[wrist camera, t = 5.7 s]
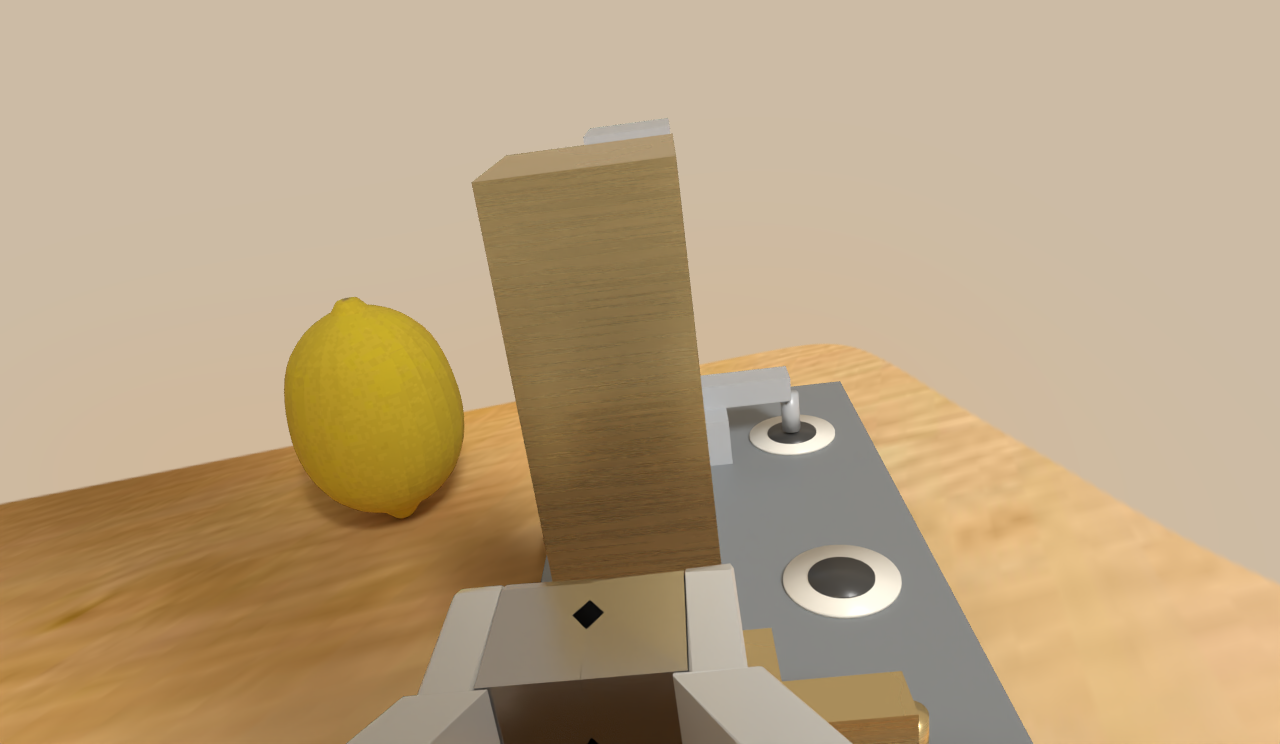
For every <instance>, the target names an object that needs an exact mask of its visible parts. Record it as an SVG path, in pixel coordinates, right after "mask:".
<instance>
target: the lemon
mask: <svg viewBox="0 0 1280 744" xmlns="http://www.w3.org/2000/svg"><path fill="white" fill-rule="evenodd" d="M284 394H285V395H284V396H285V409H286V417H287V423H288V427H289V432H290V436H291V440H292V443H293V446H294V449H295V452H296V454H297V456H298V458H299V460H300V462H301V464H302V466H303V468H304V469H305V471H306V472H307V474H308V475H309V477H310V478H311V479H312V481H313V482H314V483H315V484H316V485H317V486H318V487H319V488H320V489H321V490H322V491H323V492H325V493H326V494H327V495H328V496H329V497H331V498H332V499H333V500H335V501H337V502H338V503H340V504H342V505H345V506H347V507H350V508H353V509H356V510H359V511H364V512H372V513H387V514H389V515H392V516H394V517H396V518H406V517H409V516H410V515H412V514H413V513H414V511H415V510H416V508H417V507H418V505H419V504H420V502H421V501H423V500H425V499H427V498H428V497H429V496H431V495H432V494H433V493H434V492H436V491H437V490H438V489H439V488H440V487H441V486H442V485H443V483H444V482H445V481H446V480H447V478H448V477H449V475H450V474H451V473H452V471H453V469H454V467H455V465H456V463H457V460H458V457H459V454H460V451H461V447H462V442H463V437H464V413H463V405H462V400H461V395H460V392H459V388H458V385H457V383H456V380H455V377H454V375H453V372H452V369H451V367H450V365H449V363H448V360H447V359H446V357H445V355H444V353H443V351H442V349H441V348H440V346H439V344H438V343H437V341H436V340H435V339H434V337H433V336H432V335H431V333H430V332H428V331H427V330H426V329H425V328H424V327H423V326H422V325H420V324H419V323H418V322H416V321H415V320H413V319H412V318H410V317H409V316H407V315H405V314H403V313H401V312H399V311H396V310H393V309H391V308H386V307H382V306H376V305H367V304H366V303H364V302H363V301H361V300H360V299H359V298H357V297H350V298H345V299H341V300H339V301H337V302H336V303H335V305H334V307H333V309H332V311H331V313H329V314H327V315H326V316H324V317H323V318H321V319H320V320H319V321H317V322H316V323H315V324H313V325H312V326H311V327H310V328H309V329H308V330H307V331H306V332H305V333H304V335H303V336H302V337H301V339H300V340H299V341H298V343H297V345H296V346H295V348H294V350H293V352H292V354H291V356H290V358H289V361H288V365H287V368H286V374H285V385H284Z"/></svg>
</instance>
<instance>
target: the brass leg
mask: <svg viewBox="0 0 1280 744" xmlns="http://www.w3.org/2000/svg"><path fill="white" fill-rule="evenodd" d="M472 187H473V192H474V197H475V202H476V207H477V211H478V217H479V221H480V226H481V231H482V236H483V241H484V246H485V251H486V255H487V261H488V265H489V271H490V276H491V281H492V286H493V290H494V296H495V300H496V305H497V310H498V315H499V320H500V325H501V330H502V335H503V340H504V344H505V350H506V354H507V360H508V365H509V370H510V375H511V379H512V384H513V389H514V394H515V399H516V404H517V409H518V414H519V419H520V424H521V429H522V434H523V439H524V444H525V449H526V454H527V458H528V463H529V468H530V473H531V478H532V483H533V488H534V493H535V498H536V503H537V508H538V513H539V518H540V523H541V528H542V533H543V537H544V542H545V547H546V552H547V557H548V562H549V567H550V572H551V577H552V582H555V581H569V580H583V579H596V580H598V579H607V578H616V577H626V576H635V575H645V574H654V573H663V572H673V571H682V570H684V571H686V569H690V568H697V567H705V566H713V565H721V556H720V547H719V538H718V529H717V520H716V511H715V502H714V493H713V484H712V475H711V466H710V457H709V448H708V439H707V430H706V421H705V412H704V403H703V394H702V385H701V376H700V367H699V358H698V350H697V340H696V332H695V322H694V313H693V304H692V295H691V286H690V277H689V269H688V260H687V250H686V242H685V233H684V223H683V215H682V205H681V197H680V188H679V179H678V170H677V162H676V153H675V147H674V141H673V134H665V135H657V136H650V137H642V138H635V139H627V140H619V141H612V142H604V143H597V144H589V145H582V146H574V147H567V148H559V149H551V150H544V151H536V152H529V153H521V154H514V155H506V156H505V157H504V158H503V159H501V160H500V161H499V162H497V163H496V164H495V165H494V166H492V167H491V168H490V169H488V170H487V171H486V172H484V173H483V174H482V175H481V176H479V177H478V178H477V179H475V180H474V181H473V182H472ZM743 637H744V644H745V651H746V658H747V666H748V667H757V666H762V667H764V668H765V669H766V670H767V671H768V672H770V673H771V674H772V675H773V676H774V677H775V678H777V679H778V680H779V681H780V682H781V683H782V684H784V685H785V686H786V687H787V688H788V689H789V690H791V691H792V692H793V693H794V694H795V695H796V696H798V697H799V698H800V699H801V700H802V701H803V702H805V703H806V704H807V705H808V706H809V707H810V708H812V709H813V710H814V711H815V712H816V713H817V714H819V715H820V716H821V717H822V718H823V719H824V720H826V721H827V722H828V723H829V724H830V725H831V726H833V727H834V728H835V729H836V730H837V731H838V732H840V733H841V734H842V735H843V736H844V737H845V738H847V739H848V740H849V741H850V742H851V743H852V744H929V712H928V710H927V708H926V707H925V706H924V705H923V704H921V703H920V702H917V701H914V700H913V698H912V696H911V693H910V690H909V688H908V685H907V683H906V680H905V678H904V675H903V672H902V671H895V672H884V673H873V674H861V675H850V676H839V677H827V678H816V679H805V680H793V681H782V680H781V675H780V670H779V664H778V659H777V654H776V649H775V644H774V639H773V633H772V628H763V629H752V630H743Z"/></svg>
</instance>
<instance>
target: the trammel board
mask: <svg viewBox="0 0 1280 744" xmlns="http://www.w3.org/2000/svg"><path fill="white" fill-rule="evenodd" d="M665 134H670V128H669V120H668V118H665V119H658V120H651V121H644V122H635V123H628V124H620V125H613V126H605V127H598V128H590V129H589V130H588V132H587V133H586V135H585V136H584V137H583V138H584V145H589V144H597V143H604V142H612V141H619V140H627V139H635V138H642V137H650V136H657V135H665ZM701 385H702V394H703V403H704V412H705V421H706V430H707V439H708V448H709V457H710V466H711V475H712V484H713V493H714V502H715V511H716V520H717V529H718V538H719V547H720V556H721V564H729V563H730V564H731V565H732V567H733V568H734V574H735V581H736V588H737V595H738V602H739V609H740V616H741V623H742V630H752V629H763V628H772V633H773V639H774V644H775V649H776V654H777V659H778V664H779V670H780V675H781V680H782V681H793V680H805V679H816V678H827V677H839V676H850V675H861V674H873V673H884V672H895V671H902V672H903V675H904V678H905V680H906V683H907V685H908V688H909V690H910V693H911V696H912V698H913V700H914V701H917V702H920V703H921V704H923V705H924V706H925V707H926V708H927V710H928V712H929V744H1033V743H1032V741H1031V739H1030V737H1029V735H1028V733H1027V731H1026V729H1025V727H1024V726H1023V724H1022V722H1021V720H1020V718H1019V716H1018V714H1017V712H1016V711H1015V709H1014V707H1013V705H1012V703H1011V701H1010V699H1009V697H1008V696H1007V694H1006V692H1005V690H1004V688H1003V686H1002V684H1001V682H1000V681H999V679H998V677H997V675H996V673H995V671H994V669H993V667H992V666H991V664H990V662H989V660H988V658H987V656H986V654H985V652H984V651H983V649H982V647H981V645H980V643H979V641H978V639H977V637H976V636H975V634H974V632H973V630H972V628H971V626H970V624H969V622H968V621H967V619H966V617H965V615H964V613H963V611H962V609H961V607H960V606H959V604H958V602H957V600H956V598H955V596H954V594H953V592H952V591H951V589H950V587H949V585H948V583H947V581H946V579H945V577H944V576H943V574H942V572H941V570H940V568H939V566H938V564H937V562H936V560H935V559H934V557H933V555H932V553H931V551H930V549H929V547H928V545H927V544H926V542H925V540H924V538H923V536H922V534H921V532H920V530H919V529H918V527H917V525H916V523H915V521H914V519H913V517H912V515H911V514H910V512H909V510H908V508H907V506H906V504H905V502H904V500H903V499H902V497H901V495H900V493H899V491H898V489H897V487H896V485H895V484H894V482H893V480H892V478H891V476H890V474H889V472H888V470H887V469H886V467H885V465H884V463H883V461H882V459H881V457H880V455H879V454H878V452H877V450H876V448H875V446H874V444H873V442H872V440H871V439H870V437H869V435H868V433H867V431H866V429H865V427H864V425H863V424H862V422H861V420H860V418H859V416H858V414H857V412H856V410H855V408H854V407H853V405H852V403H851V401H850V399H849V397H848V395H847V393H846V392H845V390H844V388H843V386H842V384H841V382H840V381H839V382H830V383H821V384H812V385H803V386H794V387H790V377H789V374H788V372H787V369H786V367H785V366H783V367H774V368H765V369H756V370H748V371H739V372H730V373H721V374H712V375H703V376H701ZM541 582H552V577H551V572H550V567H549V562H548V557H547V556H546V561H545V565H544V570H543V575H542V579H541Z"/></svg>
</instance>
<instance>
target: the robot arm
mask: <svg viewBox="0 0 1280 744" xmlns="http://www.w3.org/2000/svg"><path fill="white" fill-rule="evenodd" d="M346 744H852V743H851V742H850V741H849V740H848V739H847V738H845V737H844V736H843V735H842V734H841V733H840V732H838V731H837V730H836V729H835V728H834V727H833V726H831V725H830V724H829V723H828V722H827V721H826V720H824V719H823V718H822V717H821V716H820V715H819V714H817V713H816V712H815V711H814V710H813V709H812V708H810V707H809V706H808V705H807V704H806V703H805V702H803V701H802V700H801V699H800V698H799V697H798V696H796V695H795V694H794V693H793V692H792V691H791V690H789V689H788V688H787V687H786V686H785V685H784V684H782V683H781V682H780V681H779V680H778V679H777V678H775V677H774V676H773V675H772V674H771V673H770V672H768V671H767V670H766V669H765V668H764V667H762V666H757V667H748V666H747V658H746V651H745V644H744V637H743V630H742V623H741V616H740V609H739V602H738V595H737V588H736V581H735V574H734V568H733V567H732V565H731V564H730V563H729V564H721V565H713V566H705V567H697V568H690V569H686V571H684V570H682V571H673V572H663V573H654V574H645V575H635V576H626V577H616V578H607V579H598V580H596V579H583V580H569V581H555V582H541V583H527V584H513V585H506V586H502V585H500V586H489V587H478V588H468V589H461V590H460V591H459V592H457V593H456V594H455V595H454V597H453V599H452V602H451V604H450V607H449V610H448V613H447V615H446V618H445V621H444V623H443V626H442V629H441V631H440V634H439V637H438V640H437V642H436V645H435V648H434V650H433V653H432V656H431V659H430V661H429V664H428V667H427V669H426V672H425V675H424V677H423V680H422V683H421V686H420V688H419V691H418V694H417V695H414V696H404V697H402V698H401V699H400V700H398V701H397V702H396V703H395V704H393V705H392V706H391V707H390V708H389V709H387V710H386V711H385V712H384V713H383V714H381V715H380V716H379V717H378V718H377V719H375V720H374V721H373V722H372V723H370V724H369V725H368V726H367V727H366V728H364V729H363V730H362V731H361V732H360V733H358V734H357V735H356V736H355V737H353V738H352V739H351V740H350V741H349V742H347V743H346Z"/></svg>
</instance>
